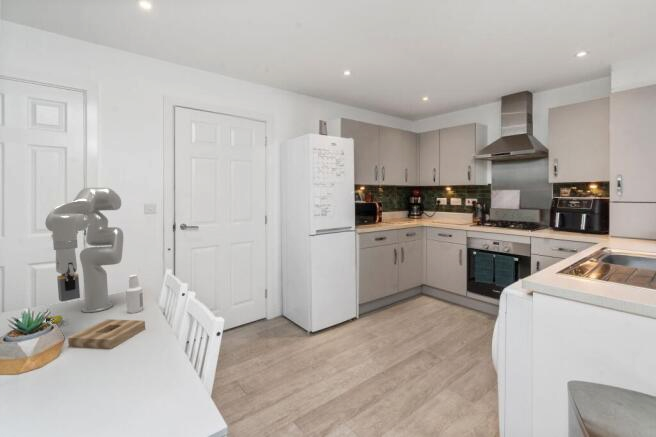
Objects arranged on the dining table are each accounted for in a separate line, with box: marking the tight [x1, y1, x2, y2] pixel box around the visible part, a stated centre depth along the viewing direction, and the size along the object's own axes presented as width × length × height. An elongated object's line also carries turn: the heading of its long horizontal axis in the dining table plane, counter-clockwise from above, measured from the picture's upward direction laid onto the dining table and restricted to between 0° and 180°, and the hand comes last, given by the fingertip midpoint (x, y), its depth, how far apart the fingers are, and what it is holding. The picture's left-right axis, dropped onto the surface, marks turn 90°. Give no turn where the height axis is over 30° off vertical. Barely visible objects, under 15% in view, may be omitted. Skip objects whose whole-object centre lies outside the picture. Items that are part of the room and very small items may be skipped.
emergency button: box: [46, 314, 69, 328], centre depth 138 cm, size 9×4×15 cm
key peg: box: [56, 272, 81, 303], centre depth 129 cm, size 4×6×10 cm, turn 143°
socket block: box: [67, 318, 146, 350], centre depth 127 cm, size 18×18×4 cm
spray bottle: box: [125, 274, 144, 314], centre depth 156 cm, size 7×7×18 cm
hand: (68, 288), depth 130 cm, fingers closed on key peg, 4 cm apart
